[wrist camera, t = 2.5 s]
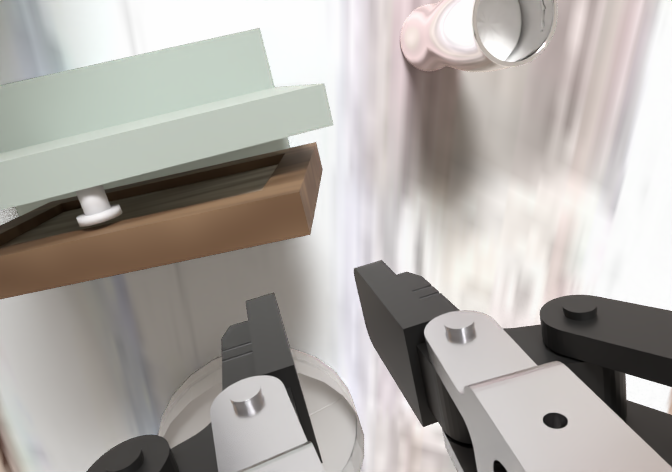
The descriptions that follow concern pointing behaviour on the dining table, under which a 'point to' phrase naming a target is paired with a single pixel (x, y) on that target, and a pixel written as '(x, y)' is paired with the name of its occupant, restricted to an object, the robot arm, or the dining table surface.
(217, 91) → the board
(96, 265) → the frame
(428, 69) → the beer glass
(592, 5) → the dining table surface
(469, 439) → the robot arm
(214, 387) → the dish
